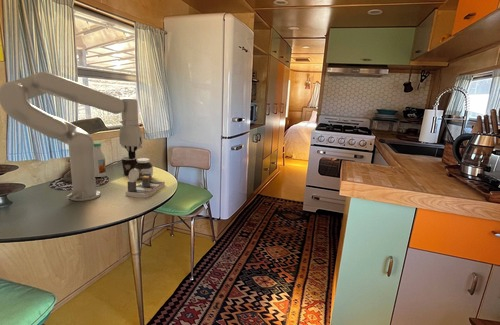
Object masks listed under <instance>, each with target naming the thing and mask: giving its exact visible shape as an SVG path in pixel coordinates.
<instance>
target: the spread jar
mask: <svg viewBox="0 0 500 325" xmlns="http://www.w3.org/2000/svg"><path fill="white" fill-rule="evenodd" d="M136 161H137V163H136V164H135V166H134V169H132V170H130V172H129V175H128V179H129V181H130V180H133V181H137V180H139V181H142V178H143V173H145V172H147V173H151V178H152V177H153V175H154V172H153V171H154V169H153V168H154V167H153V164H152V163H151V162H150V158H147V157H140V158H137V160H136Z"/></svg>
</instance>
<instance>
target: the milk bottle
mask: <svg viewBox="0 0 500 325" xmlns="http://www.w3.org/2000/svg"><path fill="white" fill-rule="evenodd" d="M105 156H106V155H105V154H104V152H103V150H102V144H101V142H94V166H95V177H101V178H105V177H106V176H107V169H106V157H105Z"/></svg>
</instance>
